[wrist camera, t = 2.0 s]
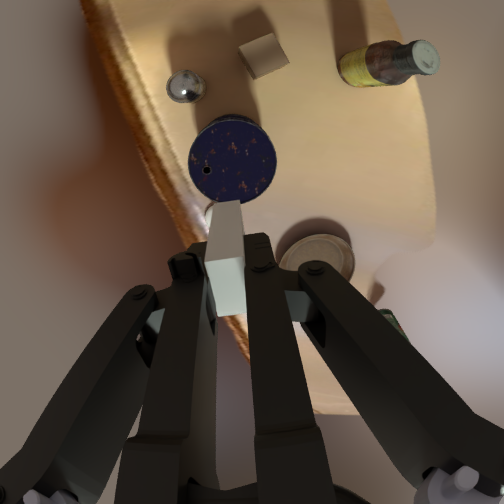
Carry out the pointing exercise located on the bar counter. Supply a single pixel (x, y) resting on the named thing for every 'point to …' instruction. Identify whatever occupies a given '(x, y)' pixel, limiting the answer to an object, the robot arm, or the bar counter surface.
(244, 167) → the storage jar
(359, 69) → the sauce bottle
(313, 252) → the saucer
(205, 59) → the bar counter surface
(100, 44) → the bar counter surface
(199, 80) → the metal shaker
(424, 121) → the bar counter surface
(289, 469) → the robot arm
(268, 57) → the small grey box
